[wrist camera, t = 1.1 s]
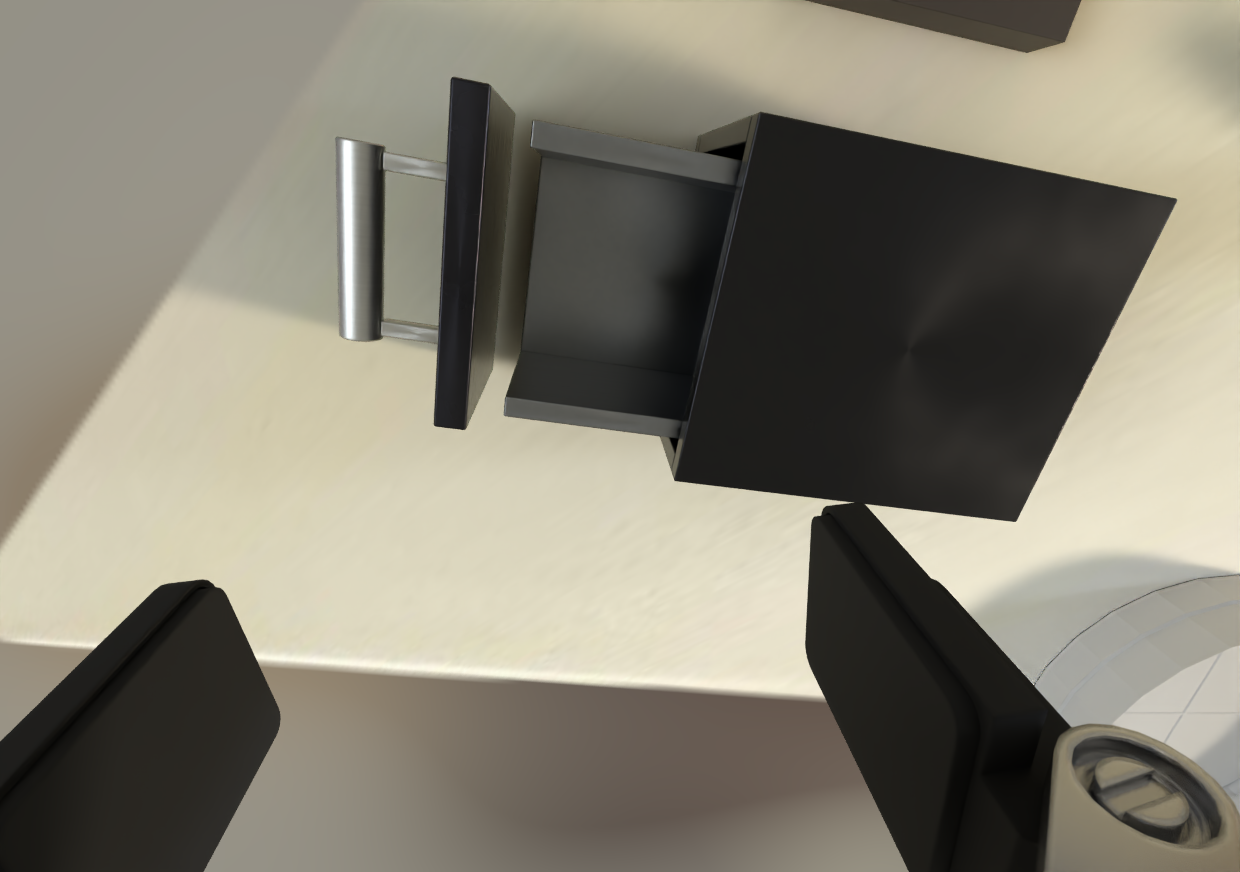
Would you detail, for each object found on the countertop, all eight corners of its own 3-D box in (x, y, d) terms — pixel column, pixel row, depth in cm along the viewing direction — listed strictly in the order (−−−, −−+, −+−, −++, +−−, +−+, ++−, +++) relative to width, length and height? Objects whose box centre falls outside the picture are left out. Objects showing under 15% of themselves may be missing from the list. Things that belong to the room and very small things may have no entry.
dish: (977, 798, 47) (1020, 865, 42) (1087, 570, 38) (1157, 623, 33) (1225, 795, 49) (1292, 859, 44) (1382, 579, 40) (1486, 630, 35)
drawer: (378, 353, 28) (311, 411, 21) (380, 85, 24) (297, 44, 17) (730, 403, 31) (777, 470, 23) (791, 167, 26) (872, 160, 19)
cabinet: (646, 396, 31) (673, 481, 22) (698, 135, 26) (759, 111, 17) (898, 432, 33) (1016, 522, 24) (990, 193, 28) (1179, 199, 19)
